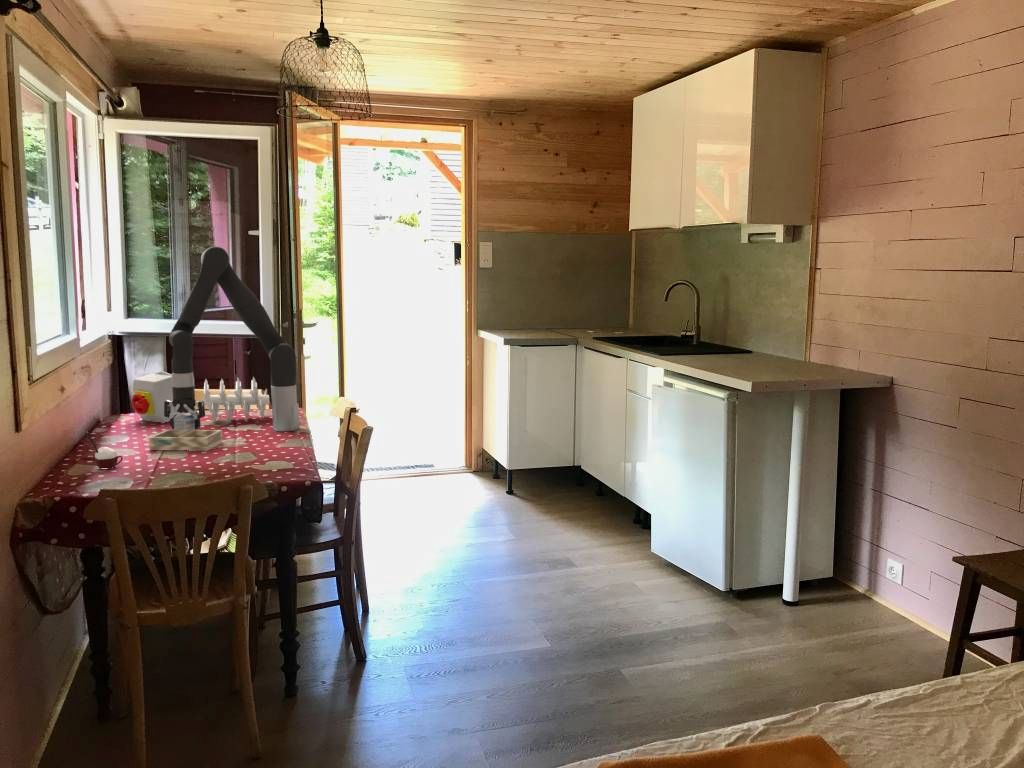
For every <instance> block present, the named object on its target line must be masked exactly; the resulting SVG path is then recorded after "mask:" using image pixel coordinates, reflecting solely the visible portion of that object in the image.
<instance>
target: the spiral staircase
mask: <svg viewBox="0 0 1024 768" xmlns="http://www.w3.org/2000/svg"><path fill="white" fill-rule="evenodd" d="M224 383H225V382H224V379H223V378H221V380H220V381H219V390H218V392H217V394H215V395H214V394H211V393H210V387H209V386H210V385H209V384H208V380H207V378H205V380H204V383H203V385H204V386H203V401H204V406H207V408H208V411H209V414H210V415H211V419H212V420H213V421H212V423H213V424H214V423H215V422H216V421H217V420H218V418H219V417H218V416H219V412H220V406H223V408H224V410H225V415H227V419H229V420H228V423H231V422H232V420H233V418H234V411H235V410H236V409H235V406H240V408H241V409H242V410H243V415H244V420H245V421H248V419H249V418H250V412H251V406H252V405H253V406H256V408H257V410H258V411H259V415H260V420H261V421H262V420H263V419H264V417H265V411H266V406H269V405H270V395H269V394H268V388H265V390H264V392H263V393H264V394H259V389H258V383H257V381H256V378H255V377H254V376H252V379H251V383H250V385H251V388H250V389H249V391H248V394H243V388H242V381H240V379H239V377H237V378H236V381H235V390H234V391H233V393H232V394H227V393H226V385H225V384H224ZM262 418H263V419H262Z"/></svg>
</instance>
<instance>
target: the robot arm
mask: <svg viewBox="0 0 1024 768" xmlns="http://www.w3.org/2000/svg"><path fill="white" fill-rule="evenodd" d="M200 263H201V267H200V271H199V274H198V277H197V279H196V282H195V284H194V285H193V287H192V290H191V291H190V293H189V295H188V297H187V298H186V300H185V303H184V305H183V307H182V309H181V312H180V315H179V317H178V319H177V321H176V322H175V324H174V325H173V328H172V329H171V331H170V333H169V336H168V337H169V338H168V342H169V344H170V346H172V359H171V374H172V394H173V401H170V400H167V401H165V402H164V416H165V417H168V418H170V422H169V423H170V428H171V430H175V428H174V417H176V415H177V414H178V413H183V414H187V413H190V414H191V415H192V416H193V417H194V418H195V420H194V424H195V429H198V430H200V427H201V418H204V417H206V409H205V408H206V407H205V405H204V400H200V401H197V400H196V393H195V389H196V388H195V376H194V368H193V367H194V366H193V354H194V352H193V351H194V340H193V336H192V335H193V333H194V331H195V329H196V327H198V325H199V324H200V322H201V320H202V318H203V315H204V313H205V311H206V308H207V306H208V303H209V301H210V298H211V295H212V293H213V290H214V288H215V286H216V285H217V284H218V285H219V286H220V288H221V290H222V291H223V293H224V295H225V297H226V299H227V300H228V302H229V303H230V305H231V307H232V309H234V311H235V313H236V314H237V315H238V317H239V318H240V320H241V321H242V322H243V323H244V325H245V326H246V327H247V328H248V330H250V331H251V332H252V333H253V334H254V336H256V338H257V339H258V340H259V342H260V343H261V345H262V347H263V348H264V350H265V352H266V354H267V356H268V358H269V359H270V361H269V362H270V390H271V391H270V395H271V396H270V397H271V413H272V415H271V416H272V430H273V431H274V430H275V432H291V431H296V430H298V429H299V428H300V405H299V403H298V400H297V396H298V395H297V357H296V351H295V349H294V348H293V347H292V346H291V345H290V344H289V343H288V342H287V341H286V340H285V339H284V338H283V337H282V335H281V334H280V333H279V332H278V330H277V329H276V328H275V326H274V324H273V321H272V320H271V318H270V316H269V315H268V313H267V311H266V309H265V308H264V306H263V304H262V303H261V302H260V300H259V298H258V297H257V296H256V295H255V294H254V292H253V291H252V290H251V289H250V288H249V287H248V286H247V285H246V284H245V283H244V282H243V281H242V280H241V279H240V277H239V276H238V275H237V274H236V272H235V270H234V268H233V267H232V265H231V264H230V257H229V254H228V252H227V251H226V250H225V249H224V248H223V247H220V246H211V247H208V248H206V249H205V250H204V251H203V252H202V254H201V256H200ZM172 405H173V406H174V407H175V408H174V410H173V411H172V413H171V406H172ZM196 407H197V408H198V409H196Z"/></svg>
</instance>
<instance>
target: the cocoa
mask: <svg viewBox="0 0 1024 768" xmlns="http://www.w3.org/2000/svg"><path fill="white" fill-rule="evenodd" d="M85 433H86V435H87V437H88V439H89V441H90V443H91V445H92V447H93V448H94V450H95V453H94V457H95V458H94V460H95V463H96V466H97V468H98V469H100V468H112V467H114V468H115V467H116V466H118V465H119V464H121V463H122V461H123V459H124V457H123V456H122V455H118V452H117V451H116V450H115V449H113V448H111V447H108V446H103V447H99V448H97V447H96V445H95V442H94V441H93V438H92V437H91V434H90V433H89V432H88V431H86V432H85ZM119 458H120V460H119V461H118V459H119ZM112 469H113V468H112Z"/></svg>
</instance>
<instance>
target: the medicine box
mask: <svg viewBox="0 0 1024 768" xmlns="http://www.w3.org/2000/svg"><path fill="white" fill-rule="evenodd" d="M194 420H195V418H194V417H193V416H192V415H191V414H190V413H183V415H180V416H177V417H174V428H175V429H174V430H199V429H195V424H194Z"/></svg>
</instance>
